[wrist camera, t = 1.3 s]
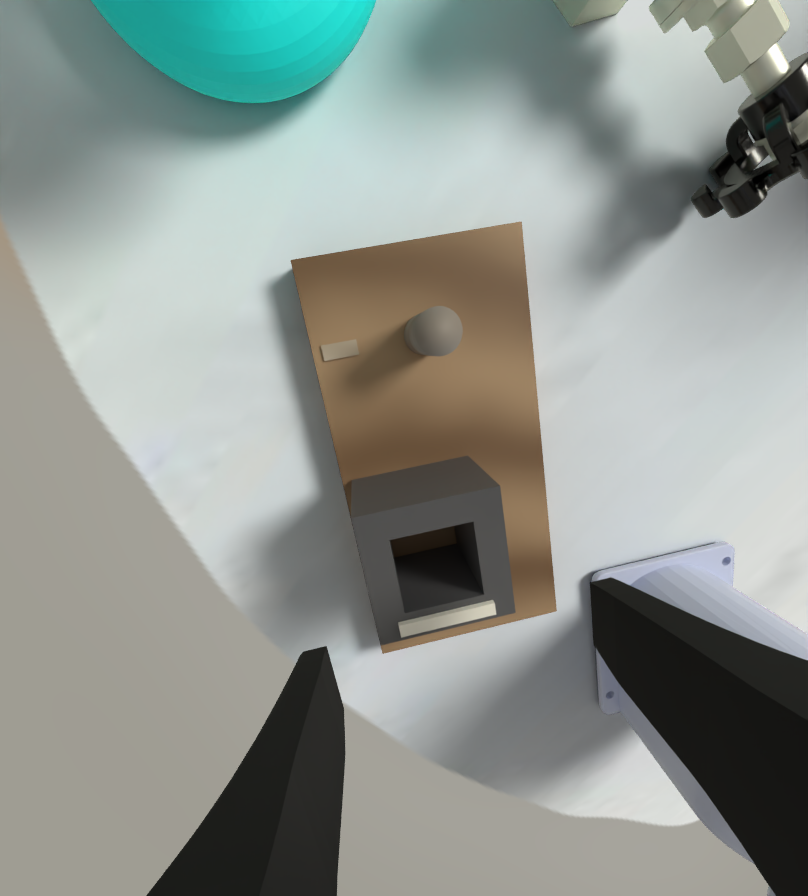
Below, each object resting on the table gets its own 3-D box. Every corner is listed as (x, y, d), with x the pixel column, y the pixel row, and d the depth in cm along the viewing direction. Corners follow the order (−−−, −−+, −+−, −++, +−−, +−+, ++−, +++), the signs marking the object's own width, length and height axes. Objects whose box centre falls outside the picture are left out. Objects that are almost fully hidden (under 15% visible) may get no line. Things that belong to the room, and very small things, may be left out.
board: (545, 596, 21) (590, 655, 17) (380, 636, 21) (387, 707, 17) (509, 230, 17) (560, 191, 12) (295, 266, 16) (275, 238, 12)
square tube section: (467, 455, 17) (502, 487, 13) (482, 558, 19) (517, 616, 15) (351, 479, 17) (350, 520, 13) (375, 583, 18) (381, 649, 14)
